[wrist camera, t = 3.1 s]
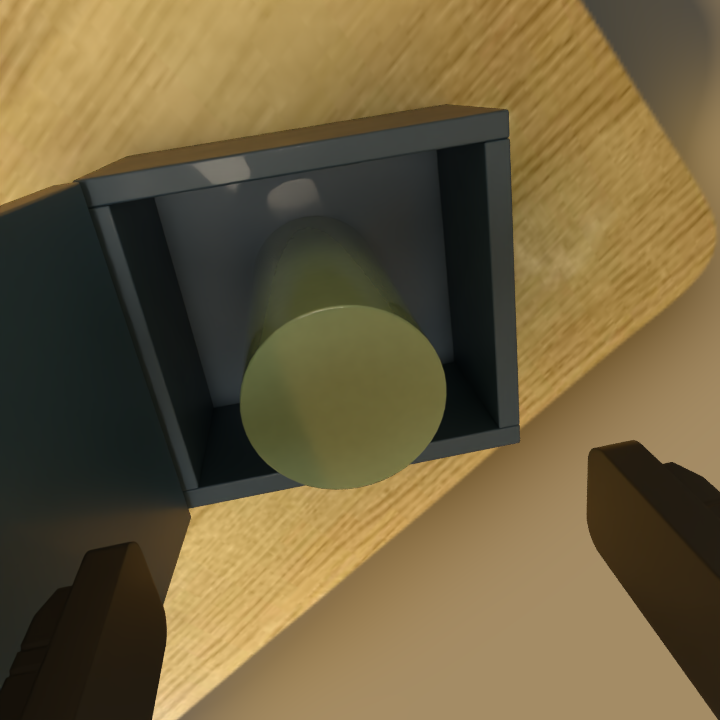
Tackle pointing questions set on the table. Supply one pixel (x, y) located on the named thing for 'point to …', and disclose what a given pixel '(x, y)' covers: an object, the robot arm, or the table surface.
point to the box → (300, 199)
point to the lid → (71, 416)
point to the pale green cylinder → (334, 361)
